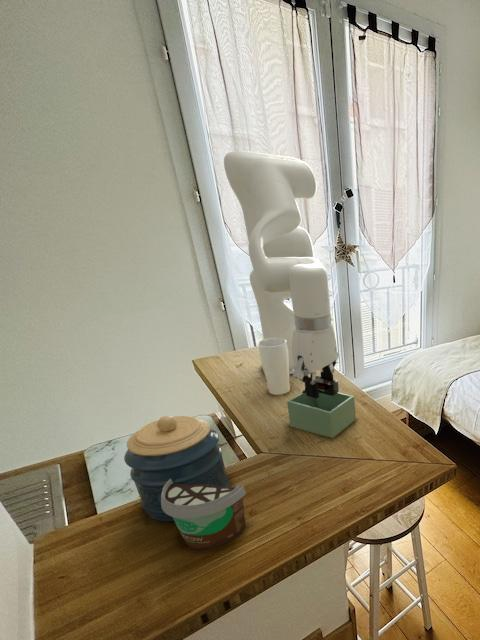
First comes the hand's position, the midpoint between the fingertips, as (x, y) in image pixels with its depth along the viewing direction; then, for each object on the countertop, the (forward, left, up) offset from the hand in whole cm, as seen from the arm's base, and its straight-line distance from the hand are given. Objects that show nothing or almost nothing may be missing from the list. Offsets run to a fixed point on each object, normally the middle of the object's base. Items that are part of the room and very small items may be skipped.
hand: (320, 391), depth 96 cm
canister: (+31, -5, -9) cm, 33 cm away
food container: (+37, +6, -9) cm, 39 cm away
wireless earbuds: (0, 0, -1) cm, 1 cm away
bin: (0, 0, -9) cm, 9 cm away
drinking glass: (-8, -21, -9) cm, 24 cm away
